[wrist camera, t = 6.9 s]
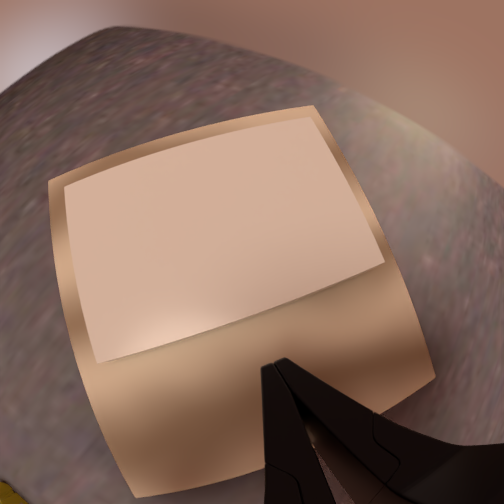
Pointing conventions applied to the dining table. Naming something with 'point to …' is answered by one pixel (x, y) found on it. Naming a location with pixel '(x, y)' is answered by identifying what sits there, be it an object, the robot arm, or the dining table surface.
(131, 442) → the board
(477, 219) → the dining table surface
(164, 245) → the tile
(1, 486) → the stun gun
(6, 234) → the dining table surface
